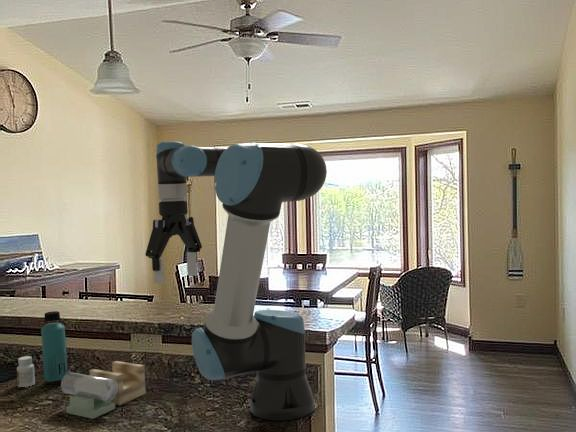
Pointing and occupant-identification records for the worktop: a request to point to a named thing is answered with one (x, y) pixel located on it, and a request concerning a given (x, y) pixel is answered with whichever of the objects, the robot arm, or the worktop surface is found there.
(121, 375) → the wooden bracket
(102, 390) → the axle
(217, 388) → the worktop surface
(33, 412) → the worktop surface
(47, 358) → the beverage bottle
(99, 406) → the v block
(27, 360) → the pill bottle
